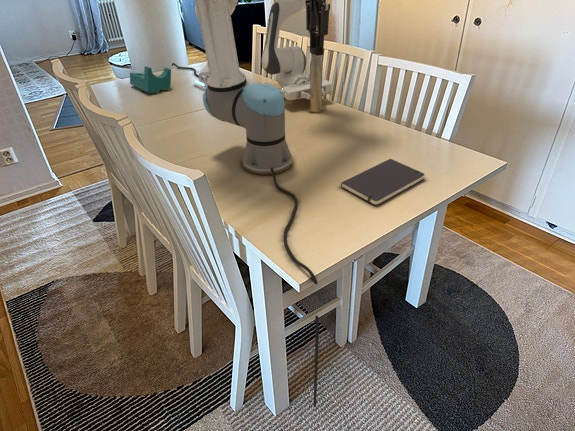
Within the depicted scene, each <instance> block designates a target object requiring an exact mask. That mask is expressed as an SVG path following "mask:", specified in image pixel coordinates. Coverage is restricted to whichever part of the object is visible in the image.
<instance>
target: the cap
mask: <svg viewBox="0 0 575 431" xmlns="http://www.w3.org/2000/svg"><path fill="white" fill-rule="evenodd" d="M310 54H311V55H312V56H313V55H316V46H311V53H310Z"/></svg>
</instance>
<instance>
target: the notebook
mask: <svg viewBox="0 0 575 431" xmlns="http://www.w3.org/2000/svg"><path fill="white" fill-rule="evenodd" d="M424 176H425V173H424V172H422V171H420V170H417V169H415V168H413V167H410V166H408V165H406V164H404V163H401V162H399V161H397V160H395V159H393V158H389V159H387V160H385V161H382V162H380V163H379V164H377V165H375V166H372V167H370V168H368V169H366V170H364V171H362V172H360V173H358V174H356V175H353V176H351V177H350V178H348V179H345V180H344V181H341V182H340V183H341V184H340V187H341V188H342V189H344V190H345V191H347V192H349V193H350V194H353V195H355V196H356V197H358V198H360V199H362V200H363V201H365V202H367V203H369V204H371V205H373V206H379V205H381V204H382V203H384V202H386V201H388V200H390V199H391V198H393V197H395V196H397V195H398V194H400V193H402V192H404V191H406V190H407V189H409V188H411V187H413V186H415V185H416V184H418V183H420V182H422V181H423V180H424Z"/></svg>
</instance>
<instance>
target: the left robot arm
mask: <svg viewBox="0 0 575 431" xmlns="http://www.w3.org/2000/svg"><path fill="white" fill-rule="evenodd" d="M238 2H239V0H228V4H229V10H230V16H232V14H234V11H235V10H236V6H237V5H238ZM304 8H306V4H305V0H275V2H274V3H273V4H272V5H271V7H270V10H269V14H268V21H267V27H266V35H265V41H264V47H263V51H262V54H261V60H260V62H261V67H262V69H263V70H264V72H266V73H267V74H269V75H271V76H273V75H275V79H276V82H277V84H278V85H279V86H280V87H281V88H280V90H281V91H282V93H283V96H284V99H286V101H295V100H300V99H306V100H310V99H312V94H310V74H305V70H306V67H307V55H306V54H305V52H304V50H303V48H301V47H300V46H287V47H285V46H284V47H278V45H279V39H280V30H281V27H282V25H283V24H284V22H285V21H286V20H288V19H289V18H291V17H293V16H295V15H297V14H299V13H300V12H301V11H302V10H303V9H304ZM194 13H195V15H196V18H197V19H198V14H197V10H196V5H195V6H194ZM204 58H205V61H207V57H206V56H205V57H204ZM171 67H175V68H177V69H181V70H192V71H193V74H194V76H196V77H197V78H198V80H197V79H195V80H194V87H195V88H198V89H200V90H202V91H205V90H204V89H205V87H206V85H207V79H208V78H209V76H210V71H209V66H208V62H206V65H205V66H204V67H203V68H202V69H201V70H200V71H199V72H198V74H197V70H196V68H194V67H189V66H179V65H177V63H175V62H172V63H171ZM332 87H333V86H332V83H331V82H330V81H329V80H327V79H325V78H323V77H322V97H325V96H326V94H329V93H331V92H332Z"/></svg>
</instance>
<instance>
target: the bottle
mask: <svg viewBox="0 0 575 431" xmlns="http://www.w3.org/2000/svg"><path fill="white" fill-rule="evenodd" d="M323 64H324V63H323V60H322V57H321V55H319V56H316V55H313V54H312V57H311V61H310V62H309V75H310V94H312V99H309V112H311V113H315V114H316V113H317V114H318V113H320V112H322V108H323V107H322V106H323V104H322V102H323V96H322V78H323V70H324V69H323V67H324V66H323Z"/></svg>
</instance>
